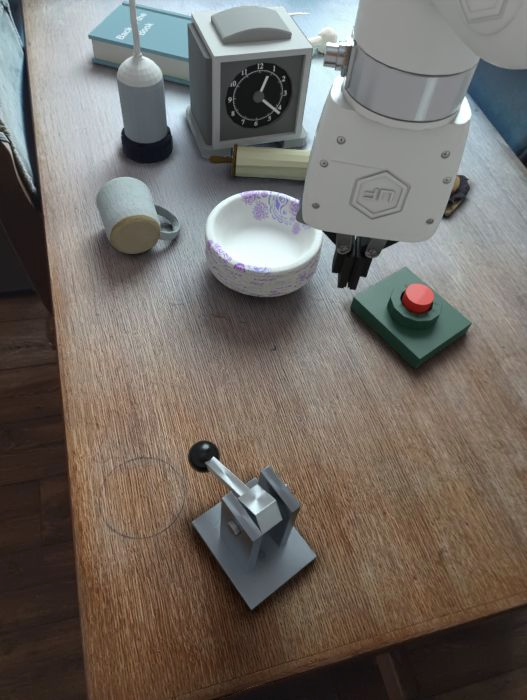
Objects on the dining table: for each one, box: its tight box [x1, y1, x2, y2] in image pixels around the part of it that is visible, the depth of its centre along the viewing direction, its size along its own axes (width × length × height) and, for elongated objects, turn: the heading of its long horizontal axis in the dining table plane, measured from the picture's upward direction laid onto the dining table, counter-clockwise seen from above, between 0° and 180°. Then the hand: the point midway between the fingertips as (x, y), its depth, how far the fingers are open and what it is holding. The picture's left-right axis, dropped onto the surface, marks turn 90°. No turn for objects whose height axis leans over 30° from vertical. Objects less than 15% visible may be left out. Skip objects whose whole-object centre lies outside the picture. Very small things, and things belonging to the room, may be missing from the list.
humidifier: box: [116, 0, 174, 165], centre depth 79 cm, size 8×8×25 cm
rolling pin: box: [208, 144, 311, 182], centre depth 86 cm, size 32×6×5 cm, turn 87°
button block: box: [349, 266, 473, 370], centre depth 71 cm, size 12×10×4 cm
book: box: [87, 0, 192, 87], centre depth 104 cm, size 23×16×5 cm
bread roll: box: [443, 174, 471, 217], centre depth 87 cm, size 11×8×4 cm
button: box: [402, 284, 434, 314], centre depth 69 cm, size 4×4×2 cm
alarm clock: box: [185, 5, 314, 159], centre depth 87 cm, size 18×13×18 cm
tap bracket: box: [191, 464, 318, 613], centre depth 49 cm, size 10×8×12 cm
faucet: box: [288, 12, 338, 55], centre depth 108 cm, size 4×18×10 cm, turn 122°
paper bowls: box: [204, 190, 324, 298], centre depth 72 cm, size 15×15×8 cm
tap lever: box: [187, 439, 282, 534], centre depth 50 cm, size 13×3×3 cm
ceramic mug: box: [95, 176, 182, 255], centre depth 75 cm, size 11×8×8 cm
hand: (346, 277), depth 48 cm, fingers closed
